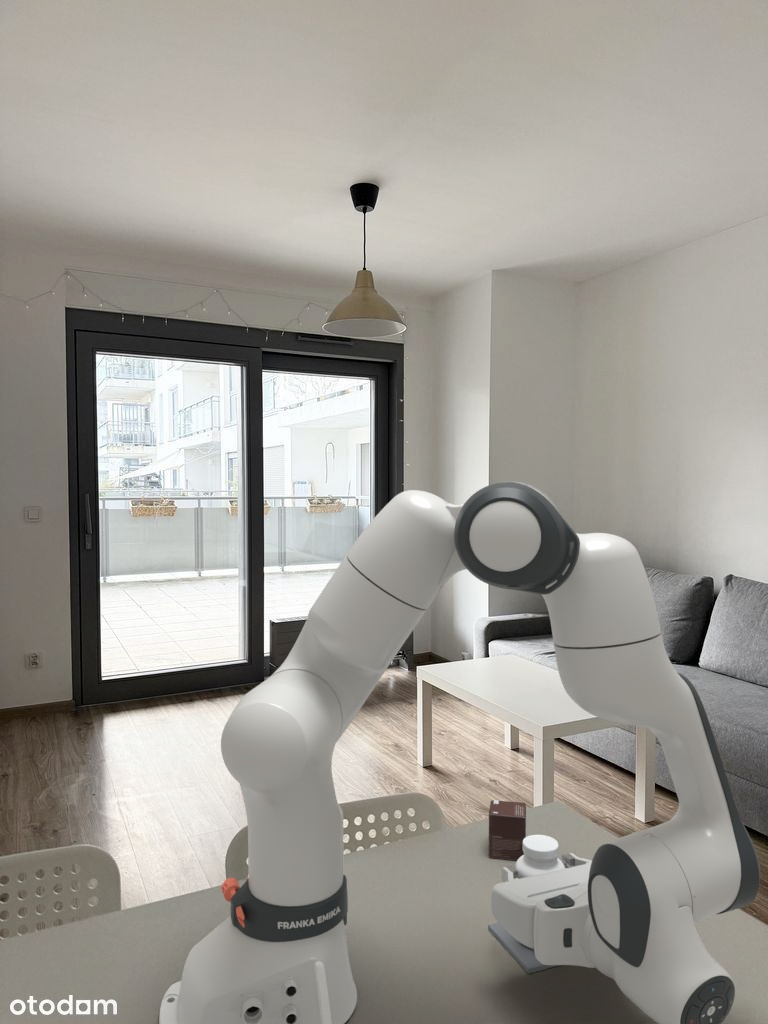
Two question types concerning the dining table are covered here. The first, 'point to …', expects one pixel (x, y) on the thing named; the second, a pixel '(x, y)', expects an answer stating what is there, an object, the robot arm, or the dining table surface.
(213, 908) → the dining table surface
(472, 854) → the dining table surface
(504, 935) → the grey mat
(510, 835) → the box
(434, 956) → the dining table surface
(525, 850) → the supplement bottle
